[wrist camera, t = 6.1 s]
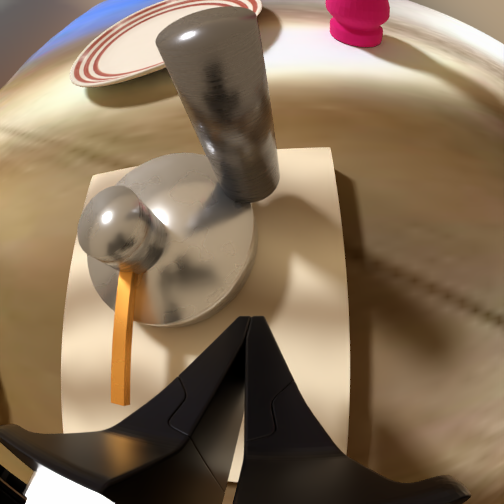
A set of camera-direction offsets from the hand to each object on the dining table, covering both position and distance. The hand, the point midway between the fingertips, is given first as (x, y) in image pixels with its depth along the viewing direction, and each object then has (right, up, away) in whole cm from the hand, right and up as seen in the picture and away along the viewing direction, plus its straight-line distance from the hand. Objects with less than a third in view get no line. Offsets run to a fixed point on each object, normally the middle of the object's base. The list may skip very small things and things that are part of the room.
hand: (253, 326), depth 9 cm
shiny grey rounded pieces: (-4, +2, +7) cm, 8 cm away
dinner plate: (-12, +32, +22) cm, 40 cm away
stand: (-4, -1, +8) cm, 9 cm away
